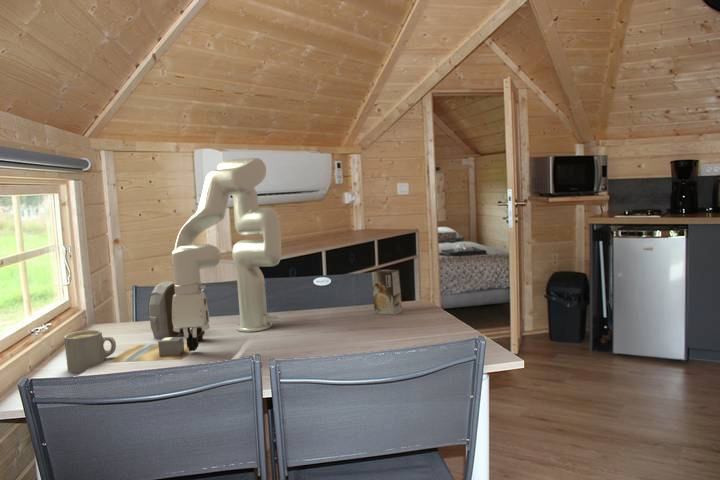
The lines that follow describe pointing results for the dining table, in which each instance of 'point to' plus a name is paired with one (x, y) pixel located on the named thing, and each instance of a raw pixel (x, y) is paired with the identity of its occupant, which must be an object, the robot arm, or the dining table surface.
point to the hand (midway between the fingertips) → (193, 349)
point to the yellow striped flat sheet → (146, 354)
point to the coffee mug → (86, 349)
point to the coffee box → (387, 292)
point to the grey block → (171, 346)
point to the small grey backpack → (162, 310)
